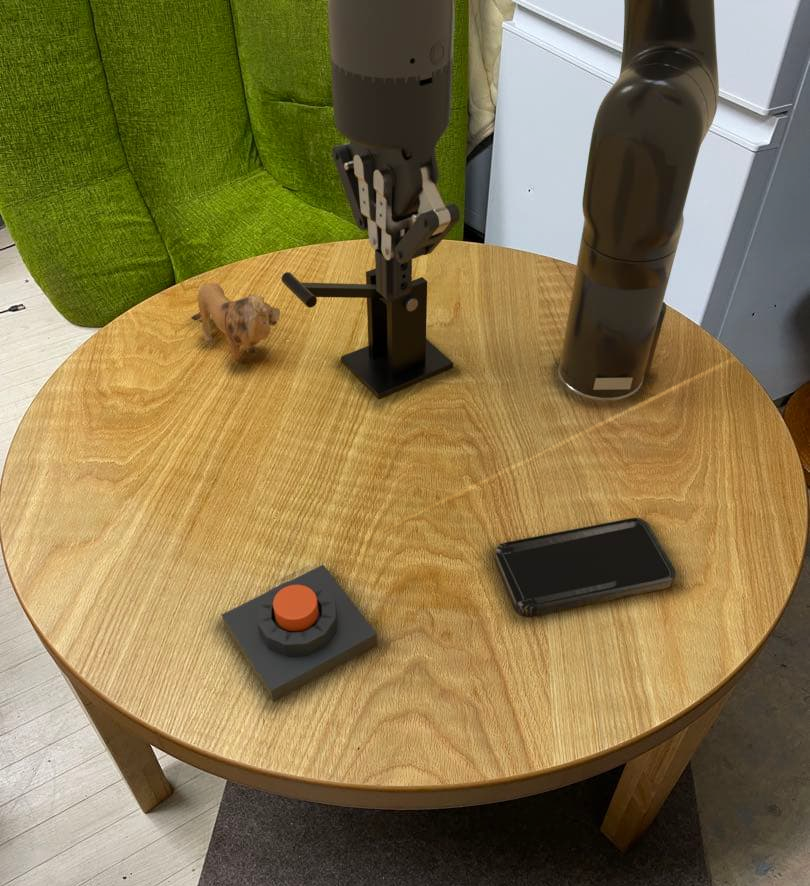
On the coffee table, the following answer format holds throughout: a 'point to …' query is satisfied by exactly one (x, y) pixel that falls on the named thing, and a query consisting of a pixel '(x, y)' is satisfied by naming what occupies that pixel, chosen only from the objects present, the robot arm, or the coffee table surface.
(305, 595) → the button
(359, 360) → the switch bracket
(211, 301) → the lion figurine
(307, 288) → the switch lever
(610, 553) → the phone
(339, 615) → the control block
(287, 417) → the coffee table surface
